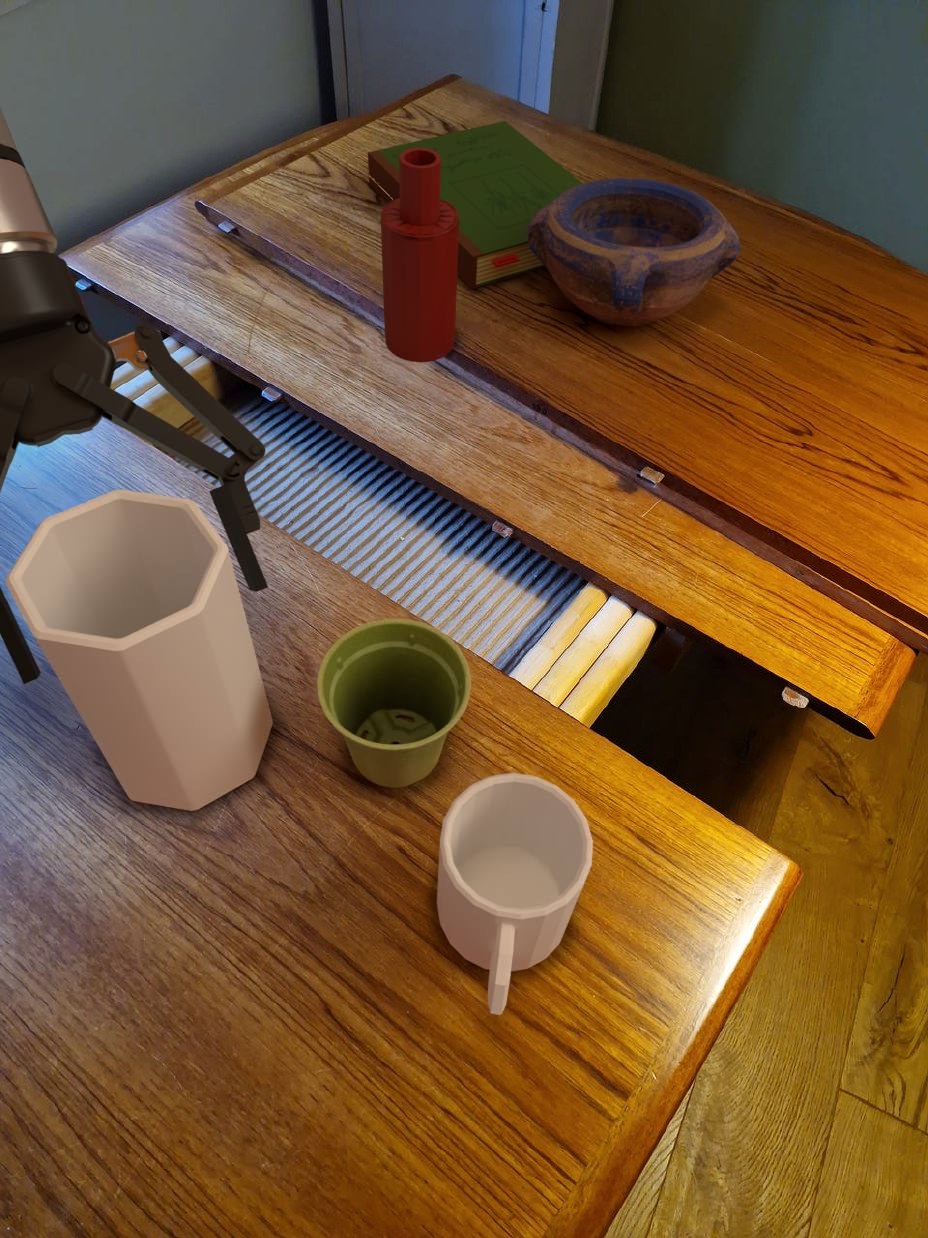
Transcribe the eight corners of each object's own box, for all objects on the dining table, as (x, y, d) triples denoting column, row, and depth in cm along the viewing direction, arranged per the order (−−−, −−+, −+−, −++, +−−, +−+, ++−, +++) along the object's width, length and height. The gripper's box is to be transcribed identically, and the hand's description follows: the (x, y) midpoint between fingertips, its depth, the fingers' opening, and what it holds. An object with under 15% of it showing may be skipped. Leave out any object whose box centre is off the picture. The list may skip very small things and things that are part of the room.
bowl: (630, 236, 102) (648, 146, 94) (740, 317, 93) (770, 226, 85) (501, 280, 96) (509, 188, 88) (606, 372, 87) (625, 279, 79)
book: (369, 184, 107) (367, 152, 104) (502, 151, 113) (505, 120, 110) (475, 293, 94) (477, 260, 91) (619, 249, 100) (625, 217, 97)
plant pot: (478, 706, 64) (485, 635, 57) (447, 827, 58) (451, 764, 51) (352, 678, 65) (344, 605, 58) (309, 794, 59) (295, 728, 52)
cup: (197, 845, 57) (118, 687, 42) (70, 759, 60) (-45, 584, 45) (306, 717, 62) (271, 539, 48) (185, 645, 66) (117, 458, 51)
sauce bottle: (378, 356, 87) (370, 171, 73) (394, 316, 91) (389, 133, 77) (446, 366, 86) (452, 182, 72) (459, 325, 91) (467, 143, 76)
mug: (416, 1032, 50) (416, 985, 43) (447, 834, 58) (452, 762, 50) (558, 1055, 50) (584, 1011, 42) (572, 852, 57) (596, 783, 49)
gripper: (205, 236, 56) (328, 554, 60) (-243, 351, 48) (-63, 709, 52) (221, 192, 49) (358, 555, 53) (-301, 317, 41) (-87, 733, 45)
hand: (150, 632), depth 53 cm, fingers open, 13 cm apart
